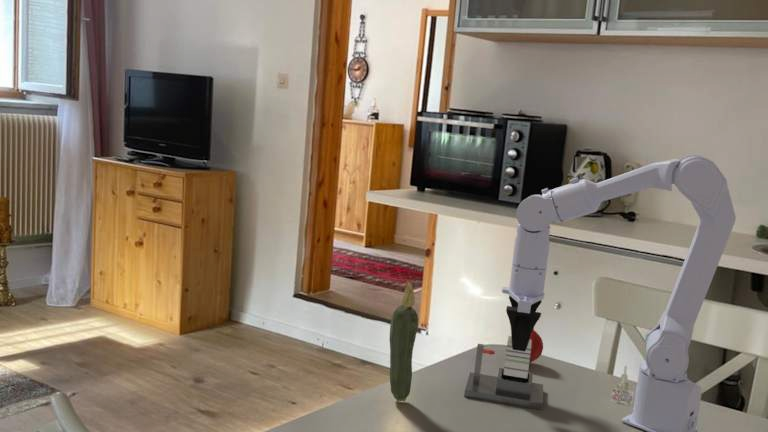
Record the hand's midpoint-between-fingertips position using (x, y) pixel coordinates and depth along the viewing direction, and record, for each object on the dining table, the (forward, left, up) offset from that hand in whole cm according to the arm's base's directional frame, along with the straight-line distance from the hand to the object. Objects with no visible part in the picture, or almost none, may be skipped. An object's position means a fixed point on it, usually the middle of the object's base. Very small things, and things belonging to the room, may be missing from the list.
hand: (519, 343), depth 126 cm
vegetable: (+9, +20, -10) cm, 24 cm away
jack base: (+1, +1, -9) cm, 9 cm away
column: (0, 0, -5) cm, 5 cm away
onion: (+8, -16, -10) cm, 20 cm away
